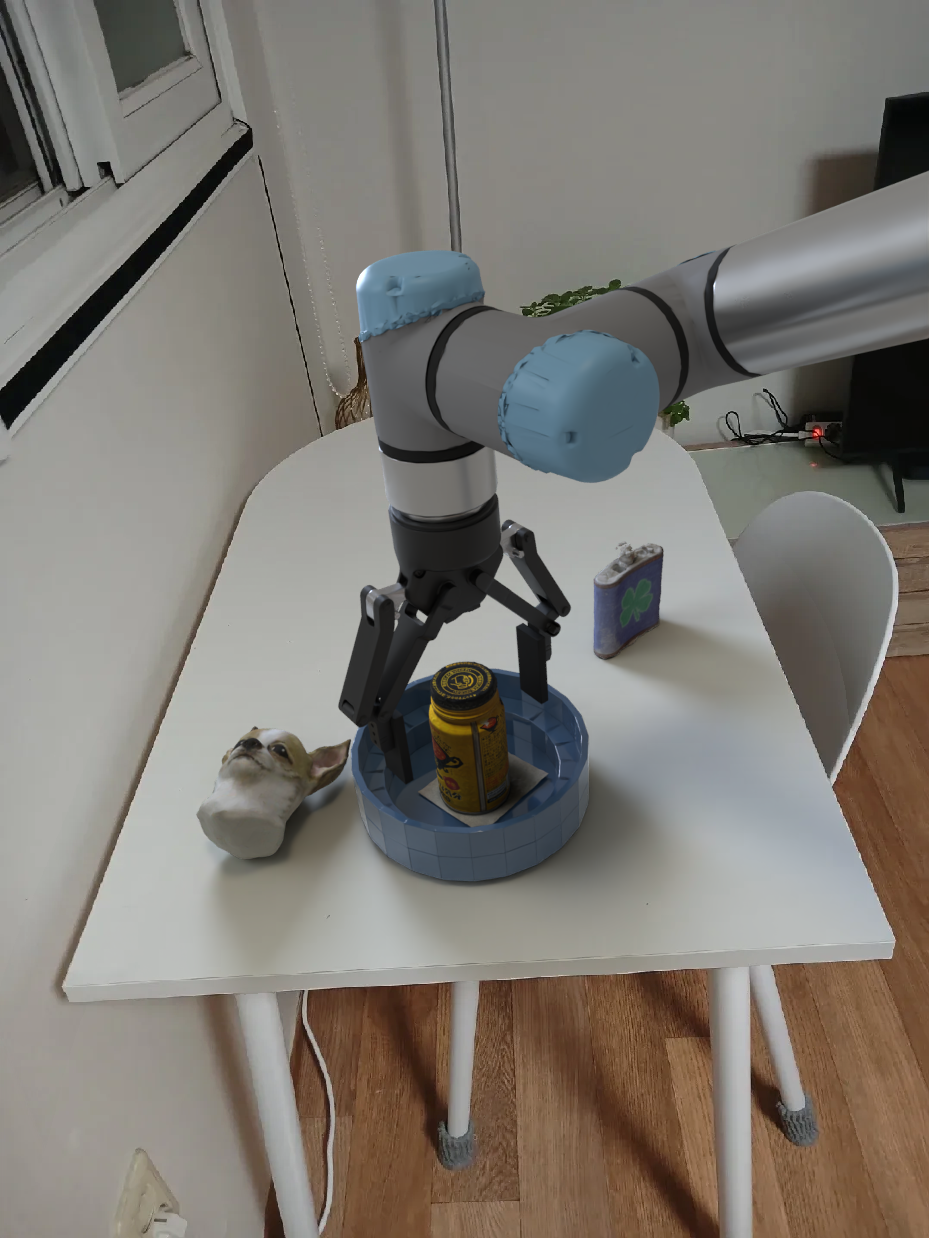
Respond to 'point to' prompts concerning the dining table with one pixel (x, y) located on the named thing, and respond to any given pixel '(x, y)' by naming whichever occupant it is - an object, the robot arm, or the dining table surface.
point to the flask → (627, 598)
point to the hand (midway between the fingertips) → (469, 732)
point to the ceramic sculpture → (265, 789)
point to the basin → (518, 836)
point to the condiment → (473, 747)
